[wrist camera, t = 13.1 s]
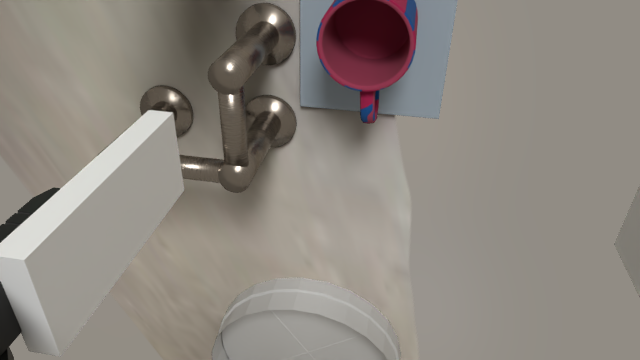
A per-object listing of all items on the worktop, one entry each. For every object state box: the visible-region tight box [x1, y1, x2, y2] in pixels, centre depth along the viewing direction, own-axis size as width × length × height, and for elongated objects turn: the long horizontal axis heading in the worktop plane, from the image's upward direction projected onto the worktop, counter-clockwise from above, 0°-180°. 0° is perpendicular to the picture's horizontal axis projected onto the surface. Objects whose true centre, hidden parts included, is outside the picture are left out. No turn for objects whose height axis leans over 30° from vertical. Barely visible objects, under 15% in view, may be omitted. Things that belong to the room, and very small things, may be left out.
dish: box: [212, 278, 401, 360], centre depth 60 cm, size 22×22×5 cm
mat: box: [300, 0, 457, 119], centre depth 41 cm, size 12×12×1 cm
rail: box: [97, 3, 297, 193], centre depth 41 cm, size 13×15×10 cm
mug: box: [316, 0, 418, 123], centre depth 38 cm, size 7×10×7 cm
